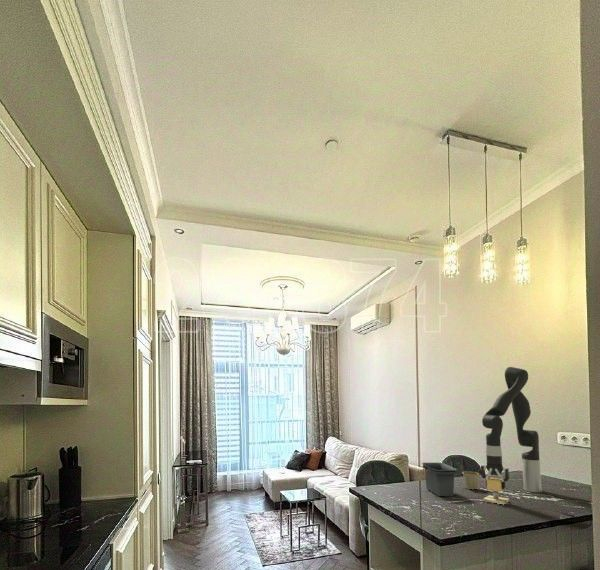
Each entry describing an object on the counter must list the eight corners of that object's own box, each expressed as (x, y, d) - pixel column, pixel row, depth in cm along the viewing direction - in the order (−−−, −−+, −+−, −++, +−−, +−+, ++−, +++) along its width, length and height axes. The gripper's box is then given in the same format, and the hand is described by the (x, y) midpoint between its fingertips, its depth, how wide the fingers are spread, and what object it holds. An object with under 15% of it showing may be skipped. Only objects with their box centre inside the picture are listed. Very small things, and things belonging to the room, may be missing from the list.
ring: (491, 487, 254) (490, 477, 255) (504, 489, 250) (503, 479, 251) (487, 489, 249) (486, 479, 250) (500, 491, 245) (500, 481, 246)
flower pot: (463, 489, 274) (462, 473, 275) (462, 486, 282) (462, 470, 284) (480, 491, 271) (479, 475, 272) (479, 487, 280) (479, 472, 281)
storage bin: (460, 497, 255) (459, 469, 258) (433, 498, 253) (432, 469, 255) (442, 488, 276) (441, 462, 278) (417, 489, 273) (416, 462, 276)
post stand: (489, 498, 255) (488, 482, 257) (509, 501, 249) (508, 485, 251) (483, 501, 247) (482, 485, 249) (503, 505, 241) (502, 488, 243)
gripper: (510, 455, 251) (512, 489, 248) (482, 452, 260) (483, 484, 257) (506, 456, 245) (508, 491, 242) (477, 453, 254) (479, 487, 251)
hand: (495, 488), depth 249 cm, fingers closed on ring, 6 cm apart
